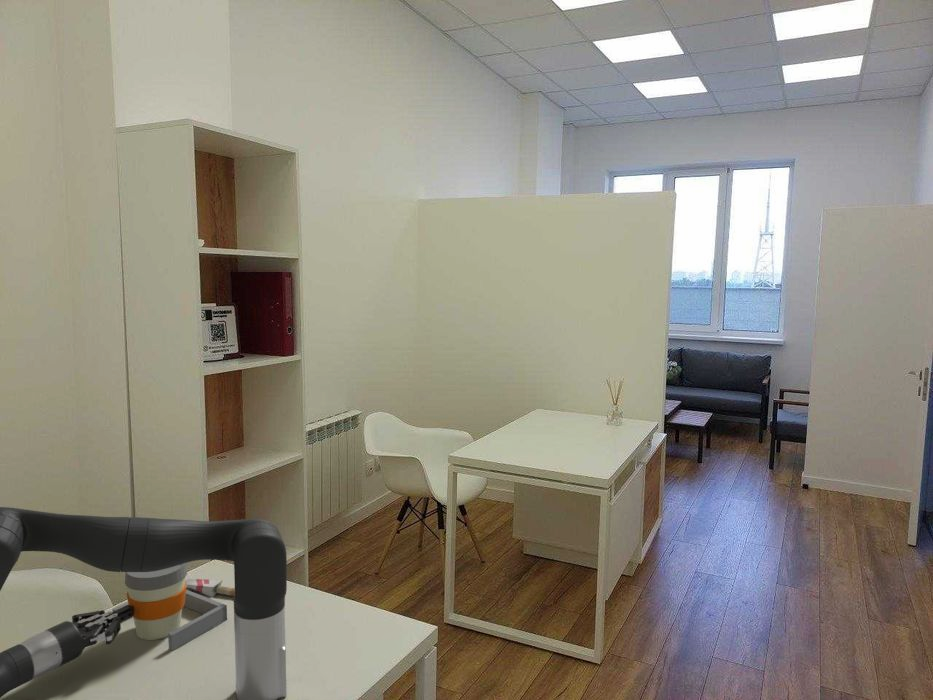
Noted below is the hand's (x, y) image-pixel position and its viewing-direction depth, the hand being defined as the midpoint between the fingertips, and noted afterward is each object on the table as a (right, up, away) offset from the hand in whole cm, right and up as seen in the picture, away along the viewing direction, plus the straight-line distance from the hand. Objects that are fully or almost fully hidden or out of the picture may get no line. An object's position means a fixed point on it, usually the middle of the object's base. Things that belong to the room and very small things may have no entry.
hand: (131, 609), depth 143 cm
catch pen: (+4, -6, +9) cm, 12 cm away
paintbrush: (+11, -5, +22) cm, 25 cm away
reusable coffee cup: (+3, -7, +6) cm, 10 cm away
